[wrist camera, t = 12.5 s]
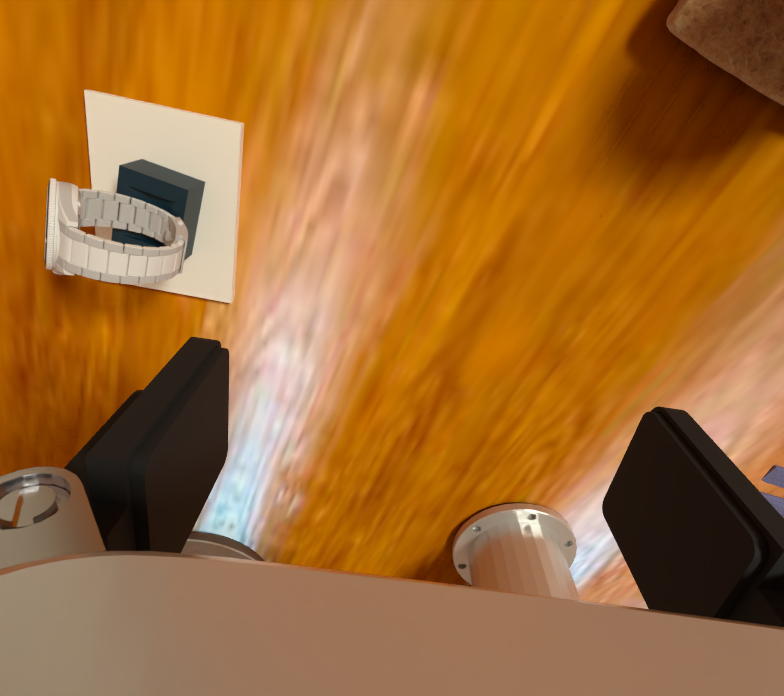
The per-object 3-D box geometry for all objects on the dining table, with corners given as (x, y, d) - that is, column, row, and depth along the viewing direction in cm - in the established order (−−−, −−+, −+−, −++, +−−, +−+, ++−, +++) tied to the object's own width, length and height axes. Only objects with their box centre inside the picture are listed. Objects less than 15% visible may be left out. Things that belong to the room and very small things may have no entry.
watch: (112, 148, 33) (-6, 172, 24) (230, 191, 35) (164, 231, 25) (105, 225, 36) (-5, 277, 26) (215, 263, 37) (149, 326, 27)
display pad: (234, 299, 39) (231, 303, 38) (104, 275, 38) (98, 278, 38) (244, 123, 33) (240, 123, 33) (91, 89, 32) (84, 89, 32)
